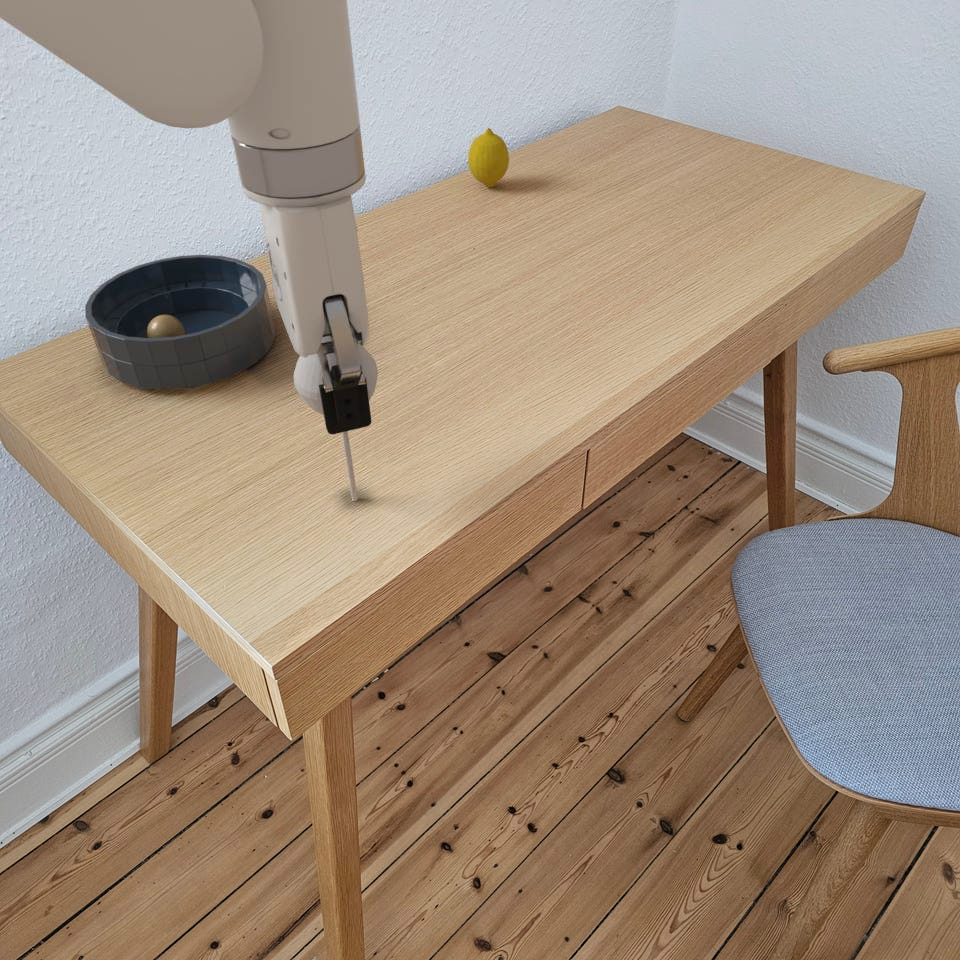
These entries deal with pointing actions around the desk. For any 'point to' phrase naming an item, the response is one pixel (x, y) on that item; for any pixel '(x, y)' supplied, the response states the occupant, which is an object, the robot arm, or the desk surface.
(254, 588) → the desk surface
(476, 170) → the fruit
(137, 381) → the bowl
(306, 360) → the lollipop
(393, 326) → the desk surface
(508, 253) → the desk surface
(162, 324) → the bead
